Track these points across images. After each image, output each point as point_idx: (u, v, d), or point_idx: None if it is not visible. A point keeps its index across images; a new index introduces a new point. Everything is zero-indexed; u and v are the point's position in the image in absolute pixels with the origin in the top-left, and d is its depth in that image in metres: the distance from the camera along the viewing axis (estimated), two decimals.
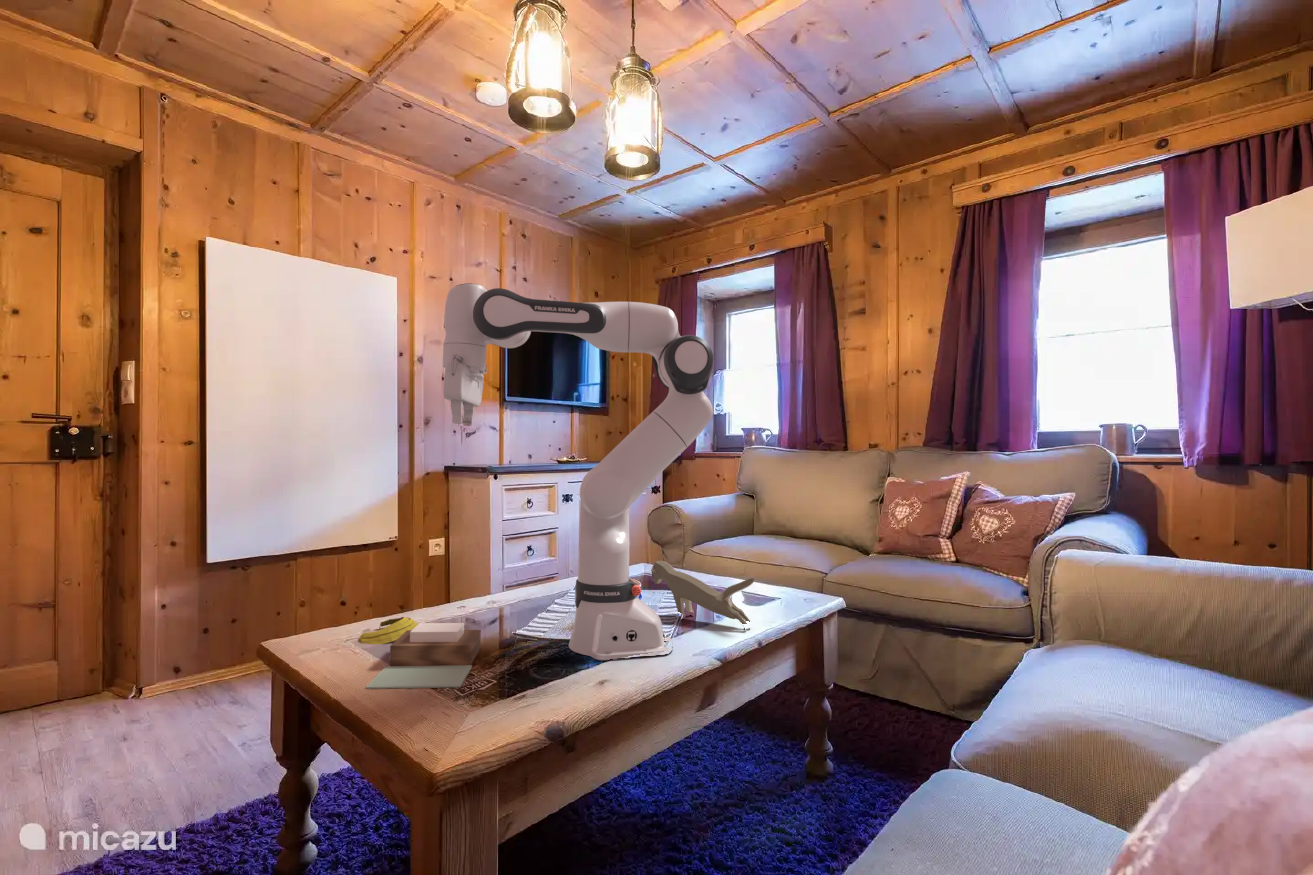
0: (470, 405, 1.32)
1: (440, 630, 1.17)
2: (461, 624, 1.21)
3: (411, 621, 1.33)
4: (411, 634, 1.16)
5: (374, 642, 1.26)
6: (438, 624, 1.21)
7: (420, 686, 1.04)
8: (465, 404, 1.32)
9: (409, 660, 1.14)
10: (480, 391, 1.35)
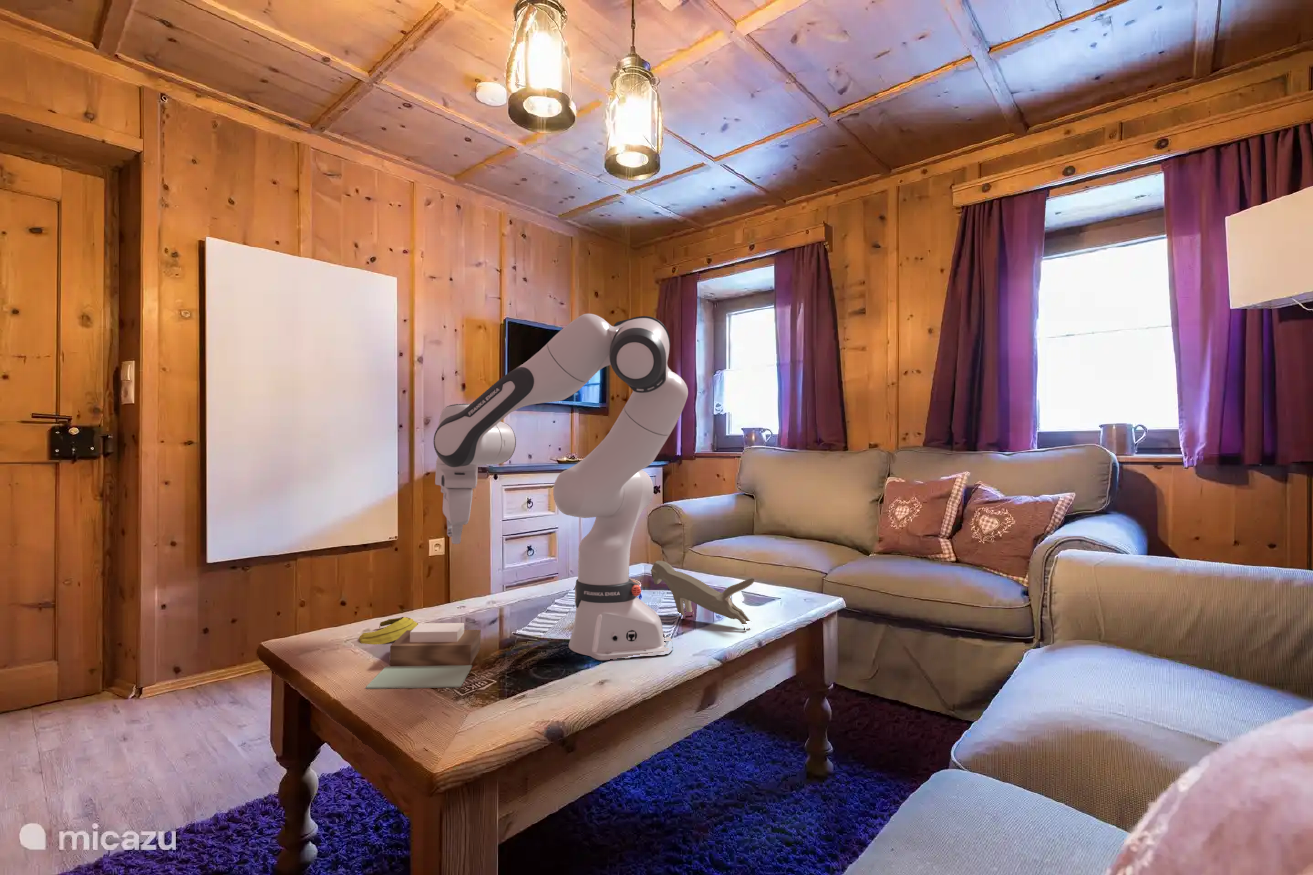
0: None
1: (440, 630, 1.17)
2: (461, 624, 1.21)
3: (411, 621, 1.33)
4: (411, 634, 1.16)
5: (374, 642, 1.26)
6: (438, 624, 1.21)
7: (420, 686, 1.04)
8: None
9: (409, 660, 1.14)
10: None
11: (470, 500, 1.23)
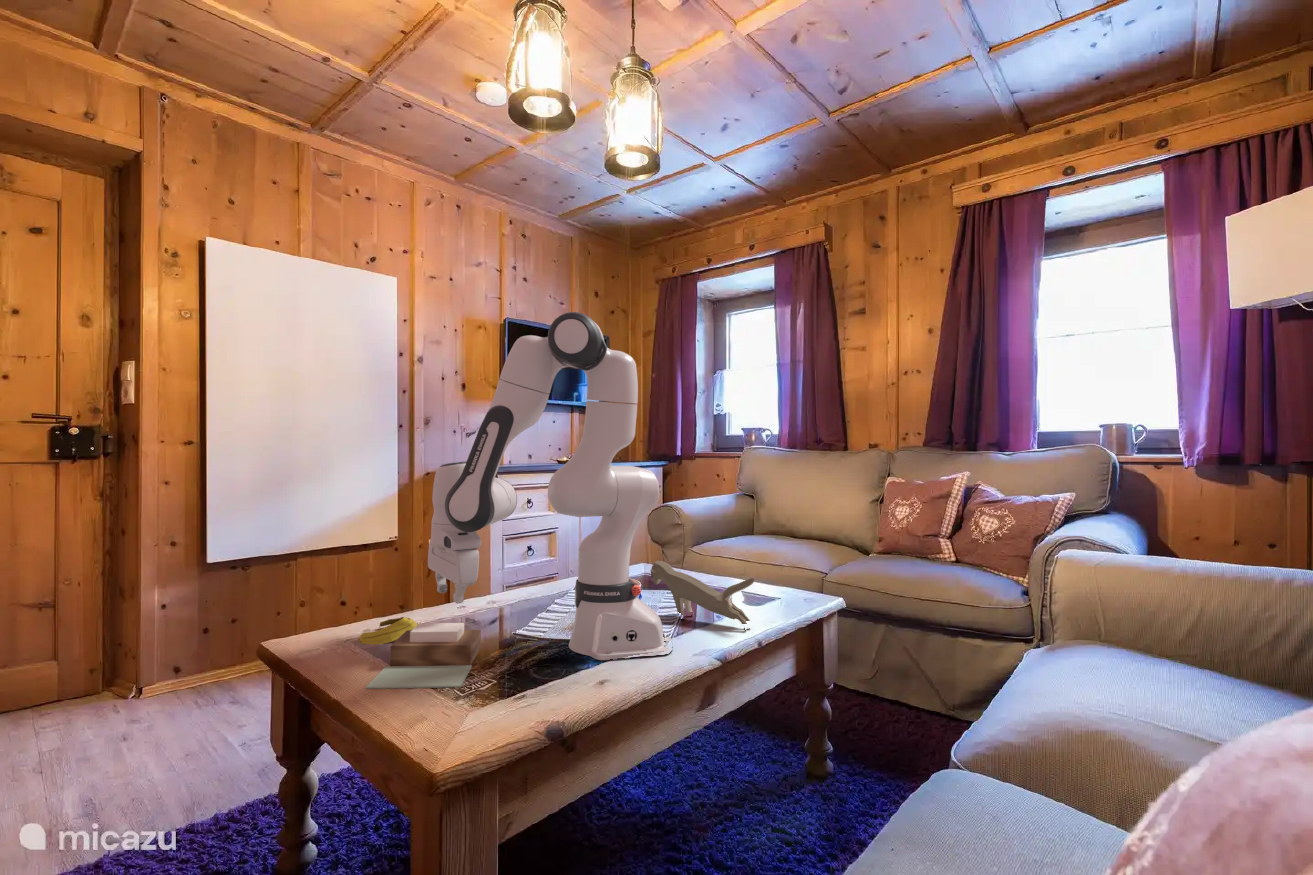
0: None
1: (440, 630, 1.17)
2: (461, 624, 1.21)
3: (411, 621, 1.33)
4: (411, 634, 1.16)
5: (374, 642, 1.26)
6: (438, 624, 1.21)
7: (420, 686, 1.04)
8: None
9: (409, 660, 1.14)
10: (457, 569, 1.23)
11: (478, 560, 1.25)
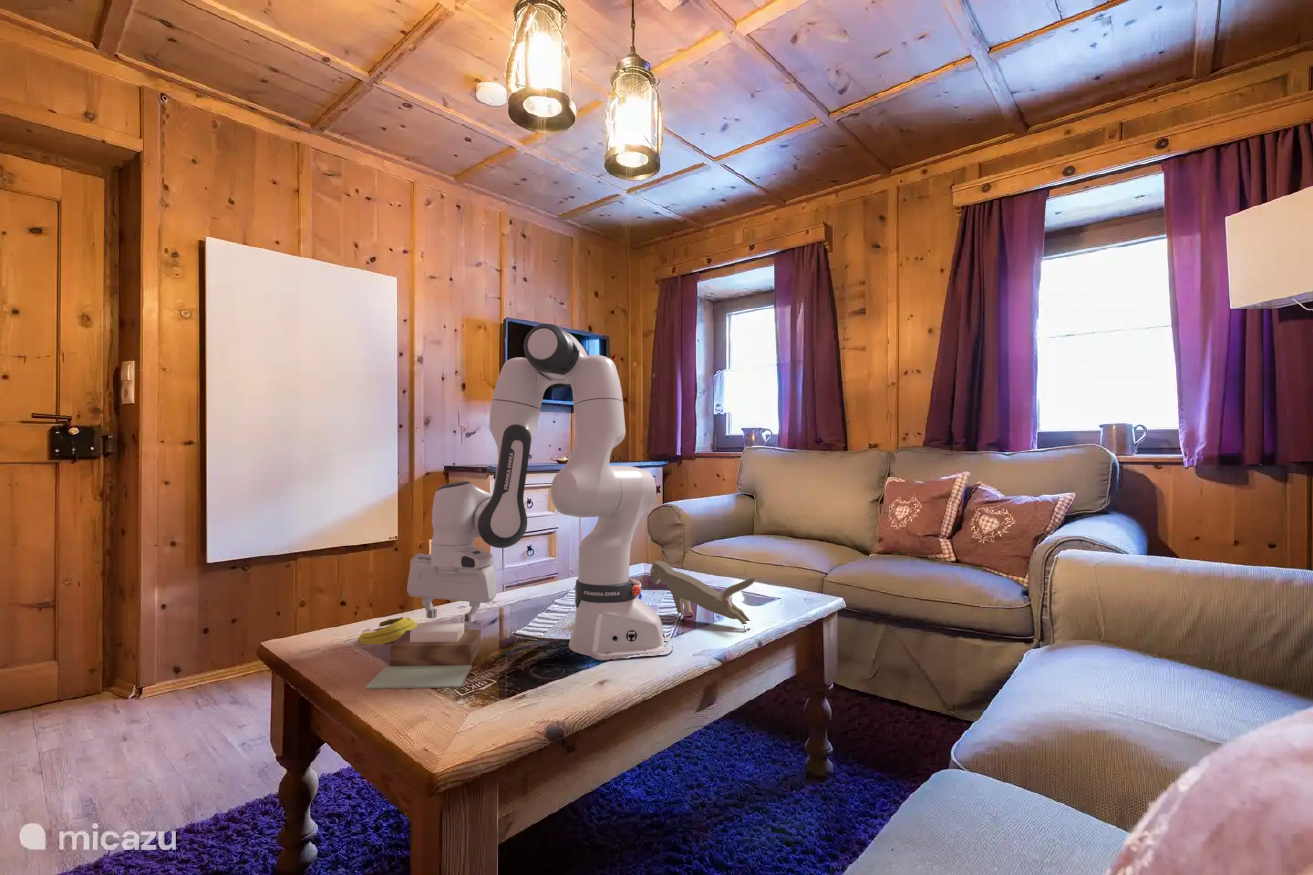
0: None
1: (440, 630, 1.17)
2: (461, 624, 1.21)
3: (410, 621, 1.33)
4: (411, 634, 1.16)
5: (373, 642, 1.26)
6: (438, 624, 1.21)
7: (420, 686, 1.04)
8: None
9: (409, 660, 1.14)
10: (480, 587, 1.25)
11: (495, 576, 1.29)
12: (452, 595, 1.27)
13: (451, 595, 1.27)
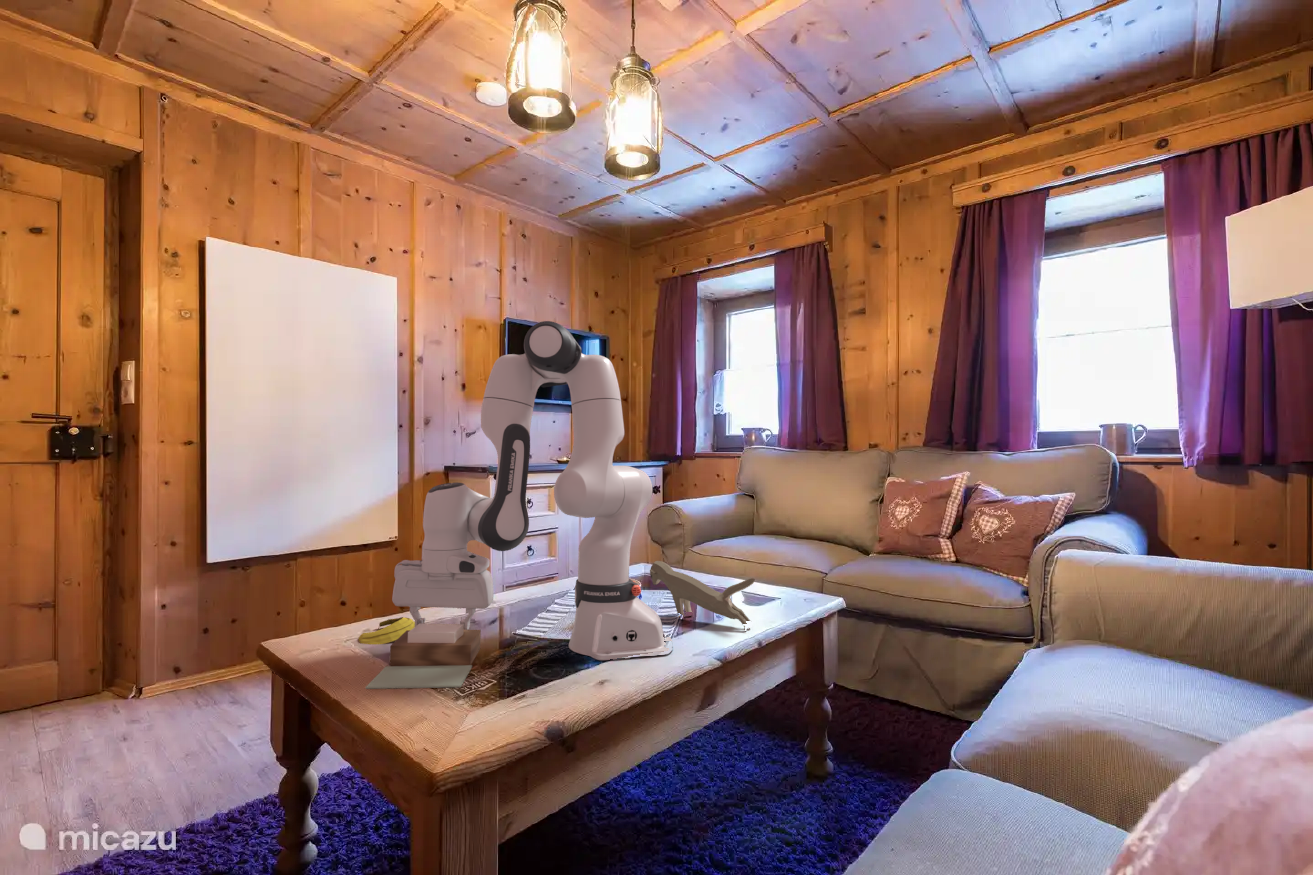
0: None
1: (438, 631, 1.16)
2: (459, 626, 1.20)
3: (410, 621, 1.33)
4: (408, 634, 1.15)
5: (373, 642, 1.26)
6: (437, 625, 1.21)
7: (420, 686, 1.04)
8: None
9: (409, 660, 1.14)
10: (479, 592, 1.21)
11: (492, 580, 1.25)
12: (446, 602, 1.21)
13: (445, 602, 1.21)
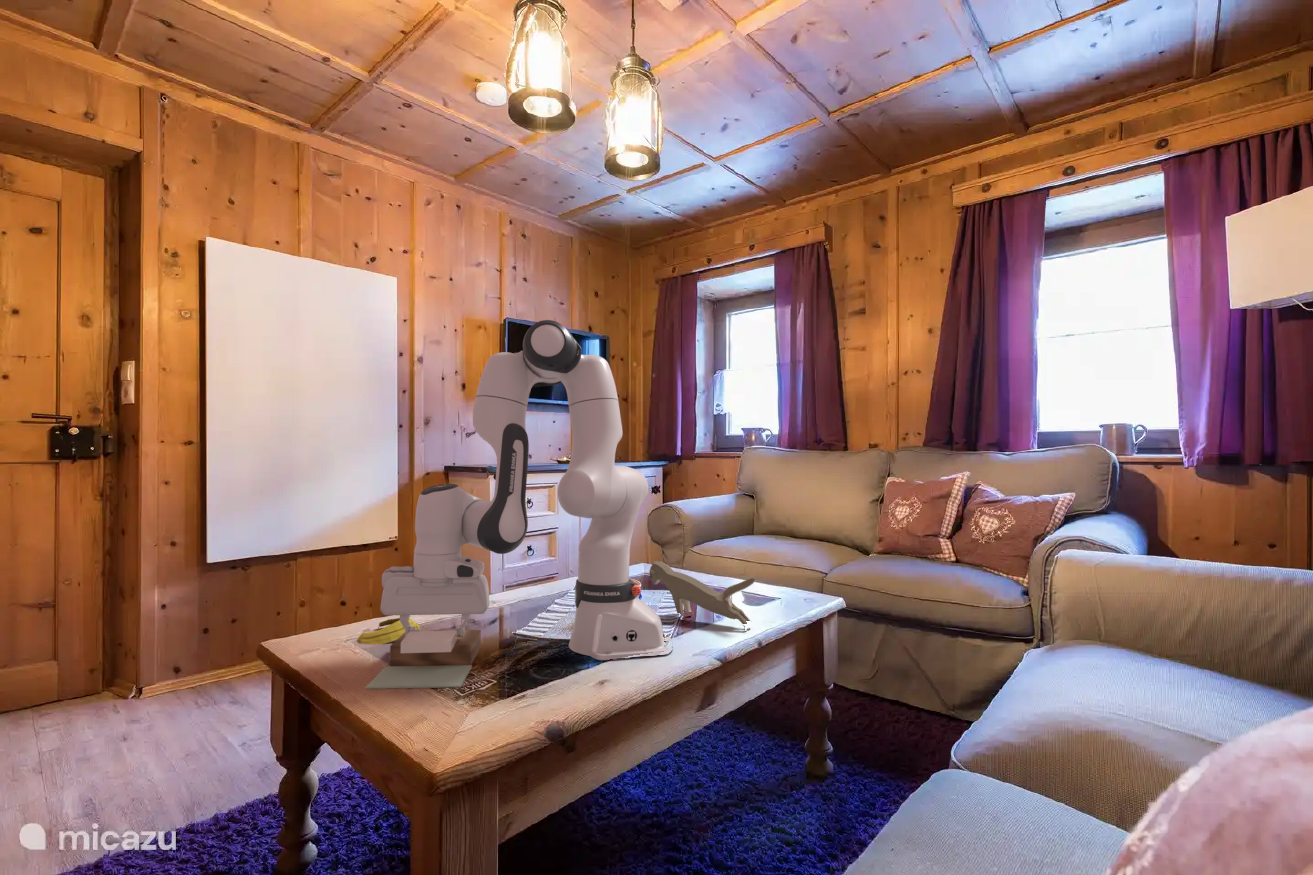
0: None
1: (433, 640, 1.11)
2: (454, 632, 1.15)
3: (410, 621, 1.33)
4: (401, 644, 1.10)
5: (373, 642, 1.26)
6: (430, 632, 1.15)
7: (420, 686, 1.04)
8: None
9: (409, 660, 1.14)
10: (477, 597, 1.17)
11: (487, 584, 1.21)
12: (441, 609, 1.16)
13: (440, 609, 1.16)
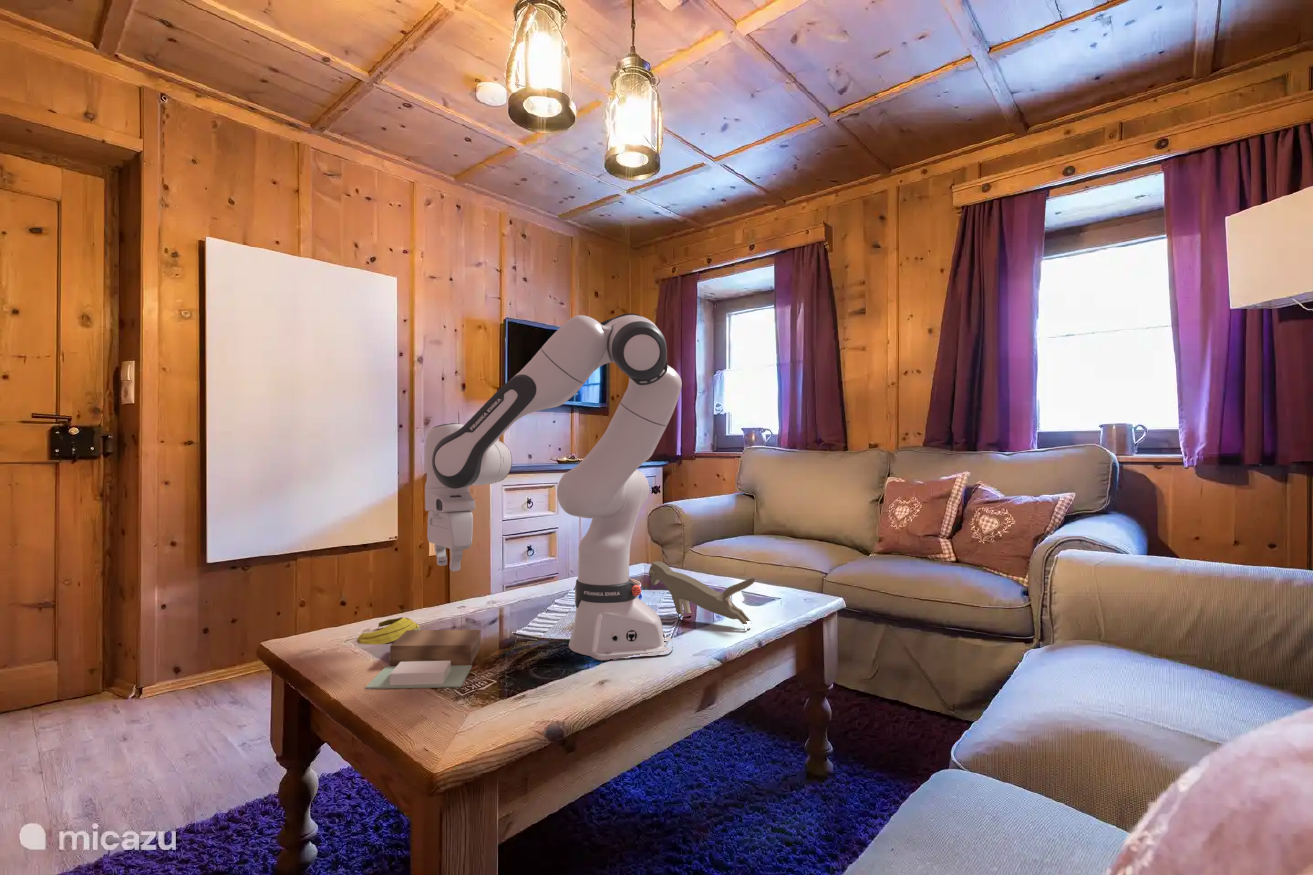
0: None
1: None
2: None
3: (410, 621, 1.33)
4: None
5: (373, 642, 1.26)
6: None
7: (420, 686, 1.04)
8: None
9: (409, 660, 1.14)
10: (449, 532, 1.16)
11: (471, 522, 1.17)
12: (441, 541, 1.22)
13: (440, 541, 1.22)
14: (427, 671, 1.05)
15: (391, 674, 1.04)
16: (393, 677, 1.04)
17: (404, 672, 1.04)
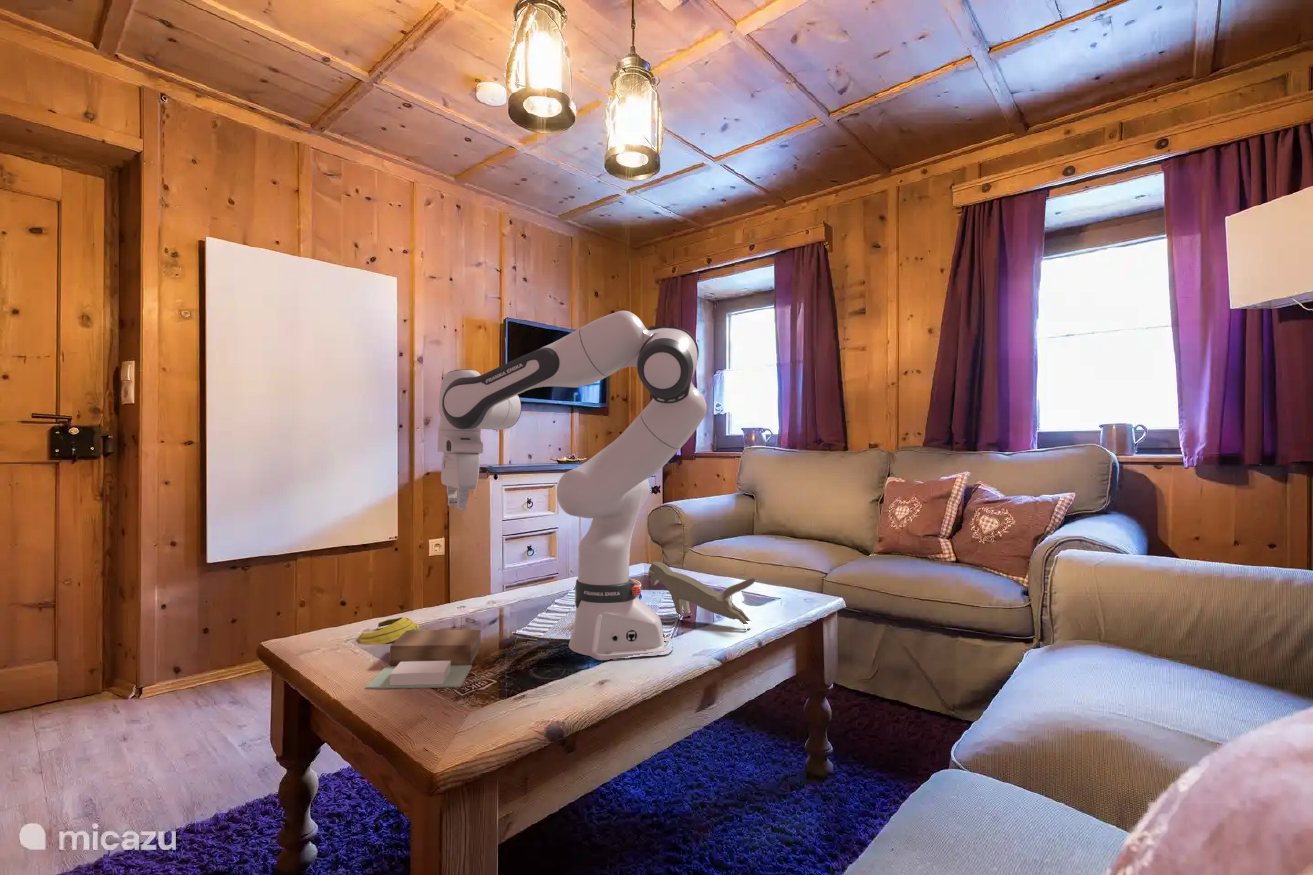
0: None
1: None
2: None
3: (409, 621, 1.33)
4: None
5: (373, 642, 1.26)
6: None
7: (420, 686, 1.04)
8: None
9: (409, 660, 1.14)
10: None
11: (478, 464, 1.22)
12: (450, 481, 1.27)
13: (450, 481, 1.27)
14: (427, 671, 1.05)
15: (391, 674, 1.04)
16: (393, 677, 1.04)
17: (404, 672, 1.04)
